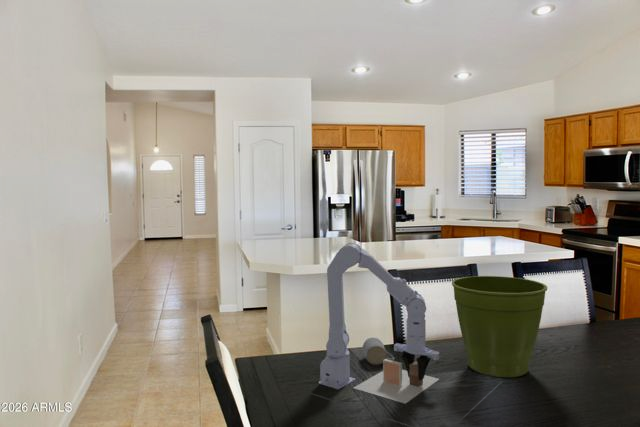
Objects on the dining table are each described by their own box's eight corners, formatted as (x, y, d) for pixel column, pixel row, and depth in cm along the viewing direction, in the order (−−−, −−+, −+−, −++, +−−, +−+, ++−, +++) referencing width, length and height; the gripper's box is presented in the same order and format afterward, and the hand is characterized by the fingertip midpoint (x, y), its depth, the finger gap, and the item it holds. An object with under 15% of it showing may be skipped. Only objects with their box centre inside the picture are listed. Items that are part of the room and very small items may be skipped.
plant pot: (551, 391, 148) (552, 295, 146) (448, 379, 157) (448, 290, 156) (541, 357, 176) (542, 277, 174) (454, 349, 185) (454, 273, 184)
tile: (400, 386, 152) (399, 364, 151) (383, 382, 155) (383, 360, 155) (402, 385, 153) (402, 363, 152) (385, 380, 156) (385, 358, 156)
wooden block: (418, 386, 151) (418, 365, 151) (409, 384, 153) (409, 363, 153) (422, 383, 154) (422, 363, 153) (414, 381, 156) (414, 361, 155)
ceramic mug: (366, 366, 170) (366, 344, 169) (362, 358, 178) (362, 337, 177) (396, 366, 171) (397, 344, 170) (391, 357, 179) (391, 336, 178)
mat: (405, 404, 140) (405, 403, 140) (352, 389, 151) (352, 387, 151) (439, 380, 157) (439, 378, 157) (390, 367, 168) (390, 366, 168)
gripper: (443, 335, 151) (443, 379, 152) (401, 327, 160) (401, 368, 161) (433, 341, 146) (433, 386, 146) (390, 332, 155) (390, 375, 156)
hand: (416, 377), depth 153 cm, fingers closed on wooden block, 3 cm apart
